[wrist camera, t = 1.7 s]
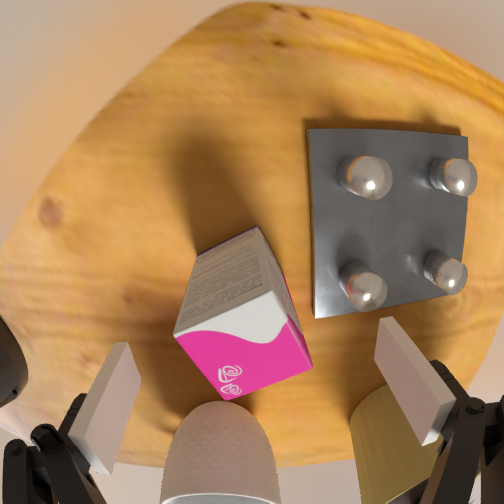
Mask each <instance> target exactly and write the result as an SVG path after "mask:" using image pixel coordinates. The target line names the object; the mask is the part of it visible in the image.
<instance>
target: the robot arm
mask: <svg viewBox="0 0 504 504" xmlns="http://www.w3.org/2000/svg"><path fill="white" fill-rule="evenodd" d="M374 361H375V363H376V364H377V366H378V368H379V369H380V371H381V373H382V375H383V376H384V378H385V380H386V382H387V384H388V385H389V387H390V389H391V391H392V392H393V394H394V396H395V398H396V400H397V401H398V403H399V405H400V407H401V409H402V411H403V412H404V414H405V416H406V418H407V420H408V422H409V423H410V425H411V427H412V429H413V431H414V433H415V435H416V437H417V439H418V440H419V442H420V444H421V446H424V445H427V444H429V443H432V442H435V441H436V440H437V438H438V436H439V434H440V433H441V434H442V436H443V438H444V439H443V441H442V443H441V445H440V446H439V448H438V450H437V452H439V453H438V456H437V459H436V462H435V465H434V467H433V470H432V473H431V476H430V478H429V481H428V484H427V486H426V489H425V491H424V494H423V496H422V499H421V501H420V503H419V504H468V502H469V499H470V496H471V492H472V488H473V485H474V481H475V477H476V473H477V468H478V464H479V459H480V464H481V504H504V395H503V396H502V398H501V400H500V402H495V403H487V404H485V403H484V402H483V401H482V400H481V399H478V398H475V397H469V395H468V394H467V393H466V391H465V390H464V389H463V388H462V386H461V385H460V384H459V382H458V381H457V380H456V379H455V378H454V376H453V375H452V374H451V373H450V371H449V370H448V369H447V367H446V366H445V365H444V364H443V363H441V362H439V361H438V360H432V361H428V360H427V359H426V358H425V356H424V355H423V354H422V352H421V351H420V350H419V349H418V347H417V346H416V345H415V344H414V342H413V341H412V340H411V339H410V337H409V336H408V335H407V334H406V332H405V331H404V330H403V329H402V327H401V326H400V325H399V324H398V323H397V321H396V320H395V319H394V318H393V316H390V317H385V318H380V319H379V327H378V334H377V341H376V348H375V354H374ZM27 381H28V370H27V366H26V362H25V359H24V357H23V354H22V352H21V350H20V348H19V346H18V344H17V342H16V341H15V339H14V337H13V336H12V334H11V333H10V331H9V330H8V329H7V327H6V326H5V325H4V323H3V322H2V321H1V320H0V408H1V407H3V406H5V405H6V404H8V403H9V402H11V401H13V400H14V399H16V398H17V397H18V396H19V395H20V393H21V392H22V390H23V389H24V387H25V386H26V384H27ZM141 382H142V380H141V377H140V375H139V372H138V369H137V367H136V364H135V361H134V358H133V355H132V352H131V349H130V347H129V344H128V342H115V343H114V345H113V347H112V349H111V351H110V353H109V354H108V356H107V358H106V360H105V362H104V364H103V365H102V367H101V369H100V371H99V373H98V375H97V377H96V379H95V381H94V383H93V384H92V386H91V388H90V390H89V392H88V394H85V393H81V394H80V395H79V396H77V397H76V398H75V399H74V401H73V402H72V404H71V406H70V409H69V410H68V412H67V415H66V416H65V418H64V420H63V422H62V424H61V426H60V428H59V430H58V432H57V430H56V429H55V427H54V426H53V425H51V424H46V423H45V424H41V425H39V426H37V427H35V428H34V430H33V431H32V433H31V435H30V437H31V441H32V442H33V443H34V445H35V446H27V445H26V444H25V442H24V441H23V440H21V439H14V440H11V441H10V442H9V443H7V445H6V446H5V449H4V459H3V484H2V485H3V486H2V488H3V490H2V496H3V497H2V499H3V504H58V502H59V504H107V503H106V501H105V499H104V498H103V496H102V494H101V492H100V491H99V489H98V487H97V485H96V484H95V482H94V480H93V478H92V476H91V474H90V473H89V469H90V466H91V467H92V468H93V469H94V470H95V471H96V472H97V473H102V474H108V475H111V474H112V471H113V467H114V464H115V461H116V457H117V454H118V451H119V448H120V445H121V441H122V438H123V435H124V432H125V429H126V426H127V423H128V420H129V417H130V414H131V411H132V408H133V405H134V402H135V399H136V396H137V393H138V391H139V388H140V385H141Z"/></svg>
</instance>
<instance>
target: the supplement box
mask: <svg viewBox="0 0 504 504" xmlns="http://www.w3.org/2000/svg"><path fill="white" fill-rule="evenodd" d="M173 336H174V337H175V338H176V340H177V341H178V343H179V344H180V345H181V347H182V348H183V349H184V350H185V352H186V353H187V354H188V356H189V357H190V358H191V359H192V361H193V362H194V363H195V365H196V366H197V367H198V368H199V370H200V371H201V372H202V373H203V374H204V376H205V377H206V378H207V380H208V381H209V382H210V383H211V384H212V385H213V387H214V388H215V389H216V390H217V391H218V393H219V394H220V395H221V396H222V397H223V398H224V400H230V399H233V398H236V397H239V396H242V395H245V394H247V393H250V392H252V391H255V390H258V389H260V388H263V387H266V386H268V385H271V384H274V383H276V382H279V381H282V380H284V379H287V378H289V377H292V376H295V375H297V374H300V373H302V372H305V371H307V370H310V369H312V368H313V364H312V361H311V358H310V354H309V351H308V348H307V345H306V342H305V339H304V335H303V332H302V329H301V326H300V323H299V320H298V317H297V314H296V311H295V308H294V305H293V302H292V298H291V295H290V293H289V290H288V287H287V284H286V280H285V277H284V275H283V273H282V271H281V269H280V267H279V264H278V262H277V260H276V259H275V257H274V255H273V253H272V251H271V249H270V247H269V245H268V243H267V241H266V239H265V237H264V235H263V233H262V232H261V230H260V228H259V226H258V225H257V226H255V227H253V228H251V229H248V230H247V231H244V232H243V233H241V234H239V235H237V236H235V237H233V238H231V239H229V240H227V241H224V242H222V243H220V244H218V245H216V246H214V247H212V248H210V249H208V250H206V251H204V252H202V253H200V254H198V255H197V257H196V260H195V263H194V266H193V270H192V273H191V276H190V279H189V282H188V285H187V289H186V292H185V295H184V298H183V301H182V305H181V308H180V311H179V315H178V318H177V322H176V325H175V328H174V332H173Z"/></svg>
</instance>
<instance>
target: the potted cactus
mask: <svg viewBox="0 0 504 504" xmlns="http://www.w3.org/2000/svg"><path fill="white" fill-rule="evenodd" d="M350 432H351V437H352V443H353V449H354V455H355V460H356V467H357V472H358V480H359V487H360V494H361V501H362V504H419V503H420V501H421V499H422V496H423V494H424V491H425V489H426V486H427V484H428V481H429V478H430V476H431V473H432V470H433V467H434V465H435V462H436V459H437V456H438V453H439V452H437V450H438V448H439V446H440V445H441V443H442V441H443V439H444V438H443V436H442V434H441V433H440V434H439V436H438V438H437V440H436V441H435V442H432V443H429V444H427V445H424V446H421V444H420V442H419V440H418V439H417V437H416V435H415V433H414V431H413V429H412V427H411V425H410V423H409V422H408V420H407V418H406V416H405V414H404V412H403V411H402V409H401V407H400V405H399V403H398V401H397V400H396V398H395V396H394V394H393V392H392V391H391V389H390V387H389V385H388V384H386V385H384V386H382V387H380V388H378V389H376V390H375V391H373V392H372V393H370V394H369V395H368V396H367V397H365V398H364V399H363V400H362V401H361V402H360V403H359V404H358V405H357V407H356V408H355V410H354V411H353V413H352V415H351V418H350ZM480 474H481V464H480V459H479V464H478V468H477V473H476V477H475V479H476V478H477V477H478V476H479V475H480ZM468 504H469V503H468Z"/></svg>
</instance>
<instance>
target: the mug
mask: <svg viewBox="0 0 504 504" xmlns="http://www.w3.org/2000/svg"><path fill="white" fill-rule="evenodd" d="M160 504H281V499H280V488H279V484H278V474H277V471H276V463H275V460H274V455H273V452H272V448H271V445H270V443H269V440H268V438H267V436H266V434H265V432H264V430H263V428H262V427H261V425H260V423H259V422H258V421H257V419H256V418H255V417H254V416H253V415H252V414H251V413H250V412H248V411H247V410H246V409H245V408H243V407H242V406H240V405H237V404H235V403H232V402H228V401H211V402H207V403H204V404H202V405H200V406H198V407H196V408H195V409H194V410H192V411H191V412H190V413H189V414H188V415H187V416H186V417H185V419H184V420H183V421H182V423H181V424H180V426H179V427H178V429H177V431H176V433H175V435H174V437H173V441H172V442H171V445H170V449H169V452H168V456H167V459H166V463H165V469H164V473H163V480H162V488H161V497H160Z"/></svg>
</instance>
